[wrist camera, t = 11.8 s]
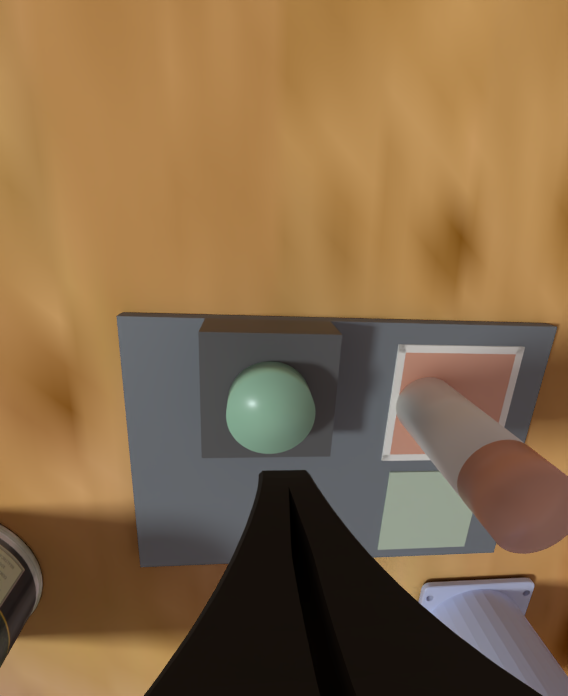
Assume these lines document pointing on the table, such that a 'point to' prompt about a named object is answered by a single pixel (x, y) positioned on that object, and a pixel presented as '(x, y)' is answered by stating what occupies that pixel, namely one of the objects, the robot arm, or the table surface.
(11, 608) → the coffee can
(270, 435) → the button
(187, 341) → the activity board
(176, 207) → the table surface
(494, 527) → the marker
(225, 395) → the button housing
